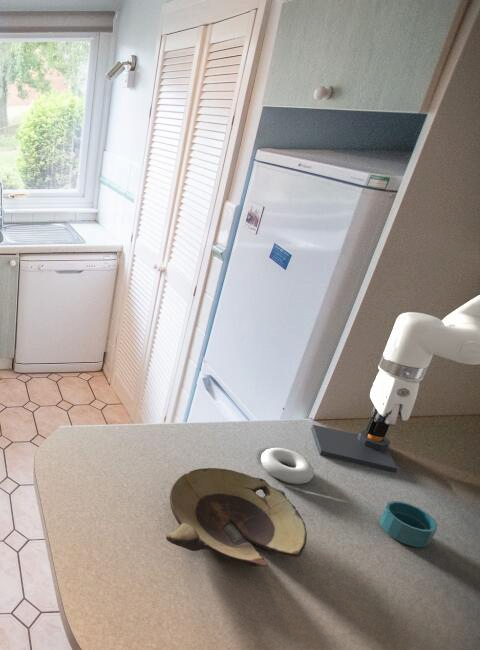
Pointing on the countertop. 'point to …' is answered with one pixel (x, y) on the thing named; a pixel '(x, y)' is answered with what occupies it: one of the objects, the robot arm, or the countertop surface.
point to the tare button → (374, 438)
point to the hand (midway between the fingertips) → (374, 433)
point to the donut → (294, 475)
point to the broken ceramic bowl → (234, 516)
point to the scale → (354, 448)
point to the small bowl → (408, 524)
